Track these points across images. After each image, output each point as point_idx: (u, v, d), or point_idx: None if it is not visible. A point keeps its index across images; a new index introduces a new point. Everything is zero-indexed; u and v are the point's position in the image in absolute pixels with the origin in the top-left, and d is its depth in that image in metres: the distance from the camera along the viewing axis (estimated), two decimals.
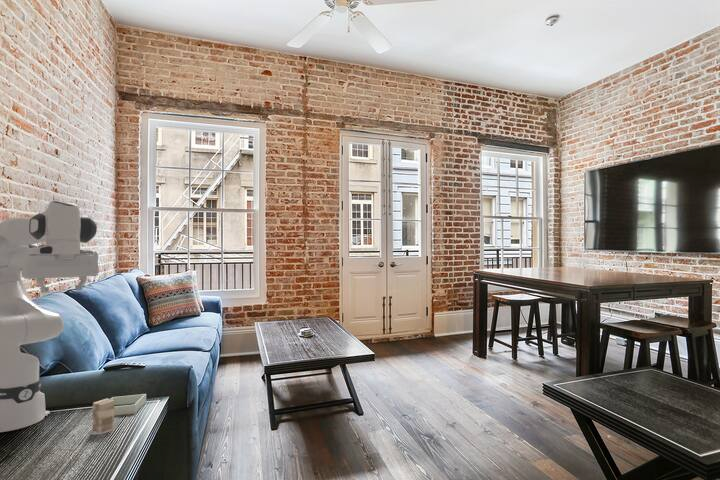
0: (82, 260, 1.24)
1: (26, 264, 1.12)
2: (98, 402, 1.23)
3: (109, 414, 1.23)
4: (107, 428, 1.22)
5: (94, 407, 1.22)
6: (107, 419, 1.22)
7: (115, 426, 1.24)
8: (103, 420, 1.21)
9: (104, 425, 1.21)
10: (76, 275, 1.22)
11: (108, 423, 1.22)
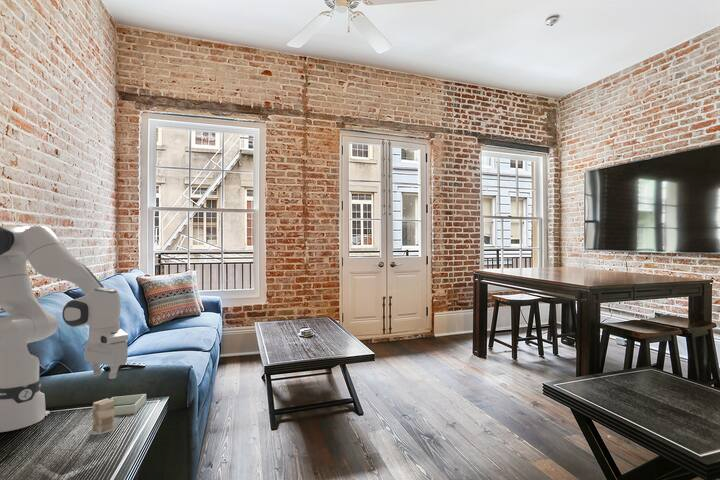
0: None
1: (123, 351, 1.20)
2: (98, 402, 1.23)
3: (109, 414, 1.23)
4: (107, 428, 1.22)
5: (94, 407, 1.22)
6: (107, 419, 1.22)
7: (115, 426, 1.24)
8: (103, 420, 1.21)
9: (104, 425, 1.21)
10: None
11: (108, 423, 1.22)
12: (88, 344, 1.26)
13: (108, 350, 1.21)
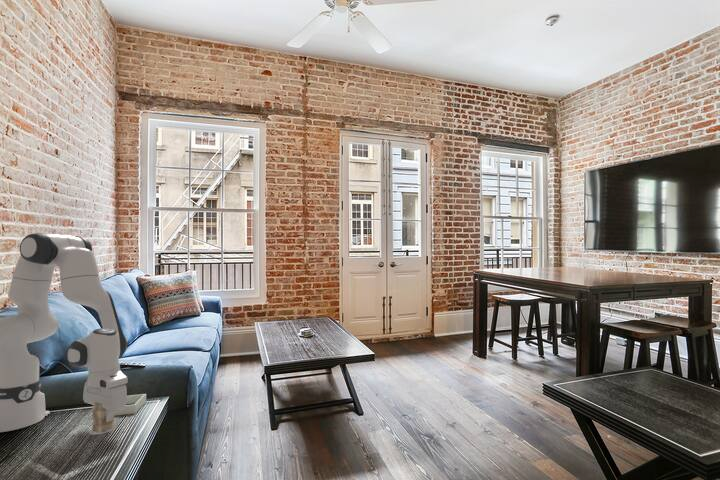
0: None
1: (122, 395, 1.20)
2: None
3: None
4: (107, 428, 1.22)
5: (94, 407, 1.22)
6: None
7: (115, 426, 1.24)
8: (103, 420, 1.21)
9: (104, 425, 1.21)
10: None
11: (108, 423, 1.22)
12: (87, 385, 1.26)
13: (107, 394, 1.20)
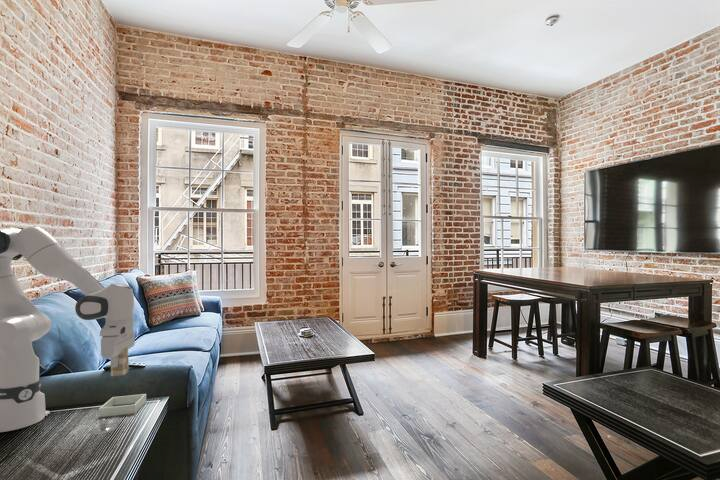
0: (129, 334, 1.42)
1: (109, 345, 1.28)
2: None
3: (119, 362, 1.35)
4: (118, 374, 1.34)
5: None
6: (117, 366, 1.34)
7: (115, 426, 1.24)
8: None
9: (115, 370, 1.34)
10: None
11: (119, 370, 1.35)
12: None
13: None
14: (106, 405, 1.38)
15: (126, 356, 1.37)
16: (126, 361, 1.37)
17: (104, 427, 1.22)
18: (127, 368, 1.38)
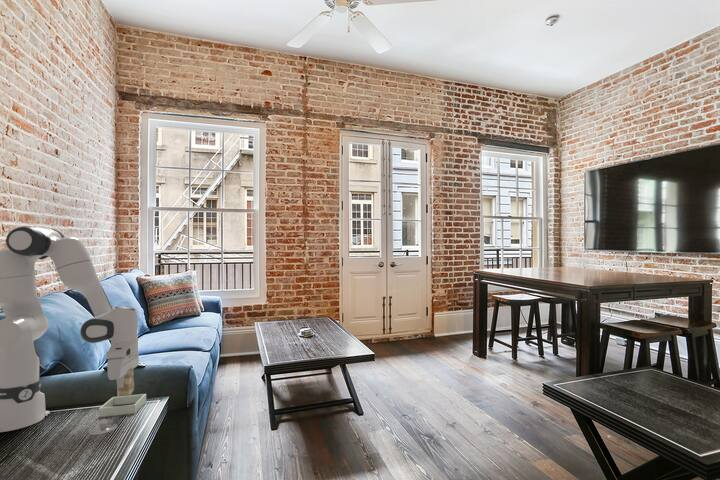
0: (134, 354, 1.46)
1: (116, 367, 1.32)
2: None
3: (125, 382, 1.39)
4: (124, 394, 1.39)
5: None
6: None
7: (115, 426, 1.24)
8: None
9: (121, 391, 1.38)
10: None
11: (125, 390, 1.39)
12: None
13: None
14: (106, 405, 1.38)
15: (131, 376, 1.42)
16: (132, 381, 1.41)
17: (104, 427, 1.22)
18: (133, 388, 1.42)
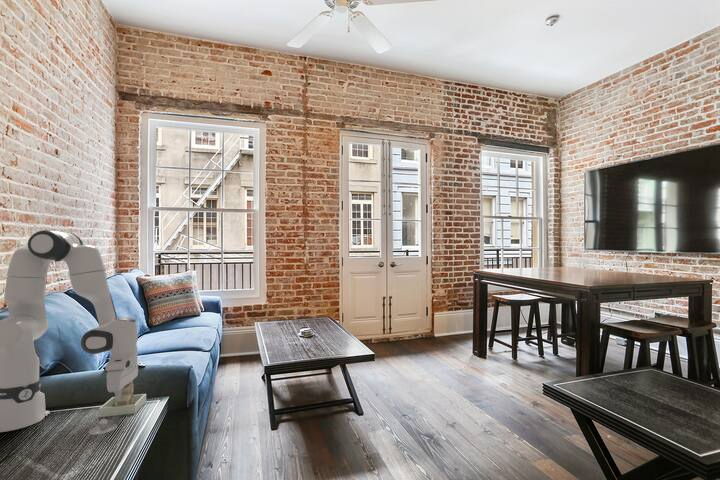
0: (133, 365, 1.46)
1: (115, 379, 1.32)
2: None
3: (124, 399, 1.38)
4: None
5: None
6: (122, 403, 1.38)
7: (115, 426, 1.24)
8: (118, 402, 1.38)
9: None
10: (132, 379, 1.44)
11: None
12: None
13: None
14: (106, 405, 1.38)
15: (131, 393, 1.41)
16: (131, 398, 1.41)
17: (104, 427, 1.22)
18: None
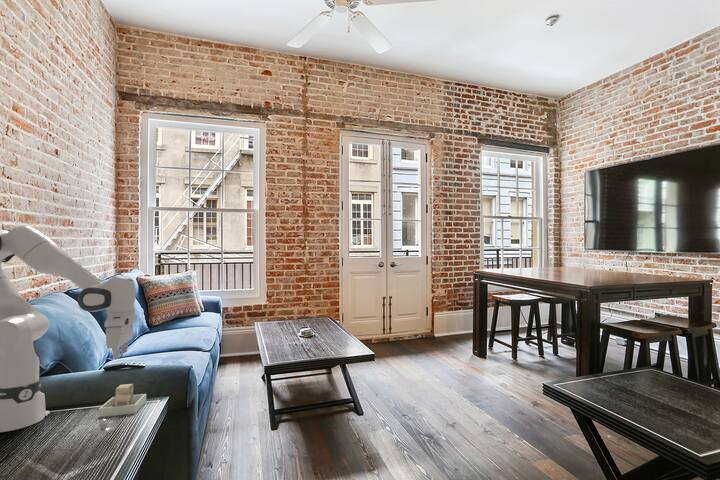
0: None
1: (115, 335, 1.31)
2: (121, 385, 1.41)
3: (124, 399, 1.38)
4: None
5: None
6: (122, 403, 1.38)
7: (115, 426, 1.24)
8: (118, 403, 1.38)
9: None
10: (128, 339, 1.43)
11: None
12: None
13: None
14: (106, 405, 1.38)
15: (131, 393, 1.41)
16: (130, 398, 1.41)
17: (104, 427, 1.22)
18: None
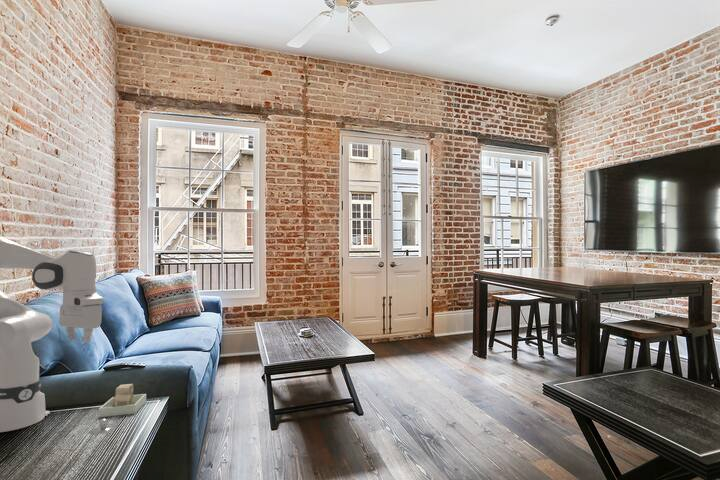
0: None
1: (97, 314, 1.18)
2: (121, 385, 1.41)
3: (124, 399, 1.38)
4: None
5: None
6: (122, 403, 1.38)
7: (115, 426, 1.24)
8: (118, 403, 1.38)
9: None
10: None
11: None
12: (62, 308, 1.24)
13: (82, 313, 1.18)
14: (106, 405, 1.38)
15: (131, 393, 1.41)
16: (130, 398, 1.41)
17: (104, 427, 1.22)
18: None
